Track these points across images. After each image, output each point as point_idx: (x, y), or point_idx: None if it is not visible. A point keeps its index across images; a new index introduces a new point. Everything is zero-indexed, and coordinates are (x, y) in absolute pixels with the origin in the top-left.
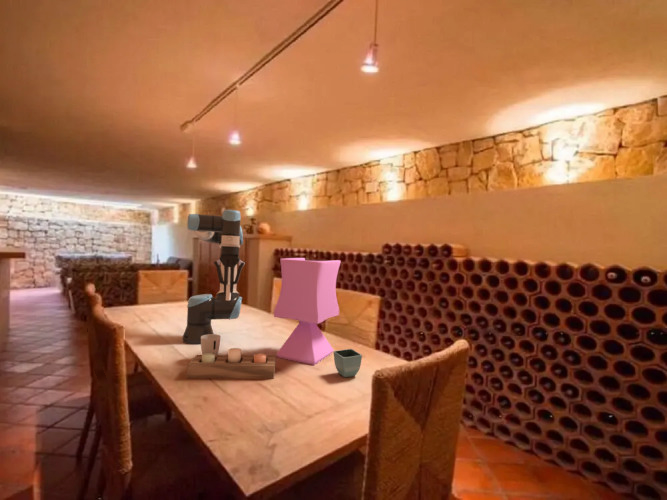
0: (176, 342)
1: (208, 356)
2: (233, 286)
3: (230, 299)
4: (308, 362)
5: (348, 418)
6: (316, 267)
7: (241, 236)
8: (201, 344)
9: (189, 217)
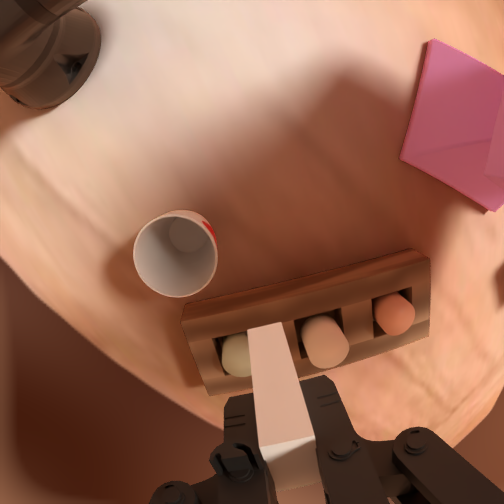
0: (7, 113)
1: (248, 370)
2: (350, 422)
3: (281, 325)
4: (480, 204)
5: (490, 393)
6: None
7: None
8: (156, 276)
9: None
